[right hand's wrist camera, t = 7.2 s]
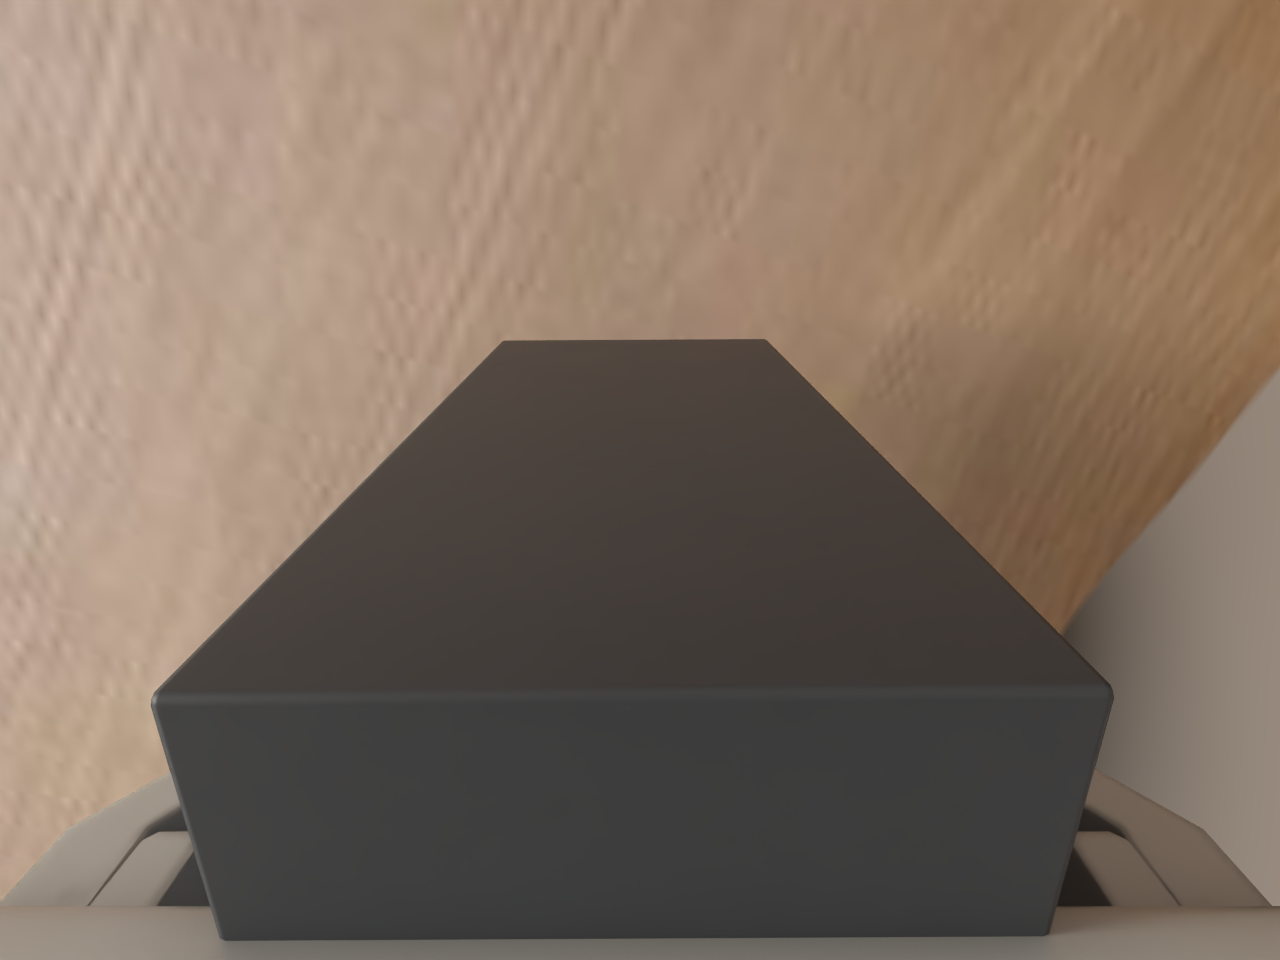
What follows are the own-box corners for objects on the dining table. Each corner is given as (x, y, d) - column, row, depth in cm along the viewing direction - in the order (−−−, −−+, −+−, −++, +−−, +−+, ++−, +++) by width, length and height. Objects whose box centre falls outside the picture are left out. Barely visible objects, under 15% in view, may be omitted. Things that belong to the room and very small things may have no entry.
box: (501, 340, 16) (141, 695, 4) (766, 338, 16) (1123, 689, 4) (548, 990, 24) (462, 1767, 12) (729, 988, 24) (823, 1761, 12)
